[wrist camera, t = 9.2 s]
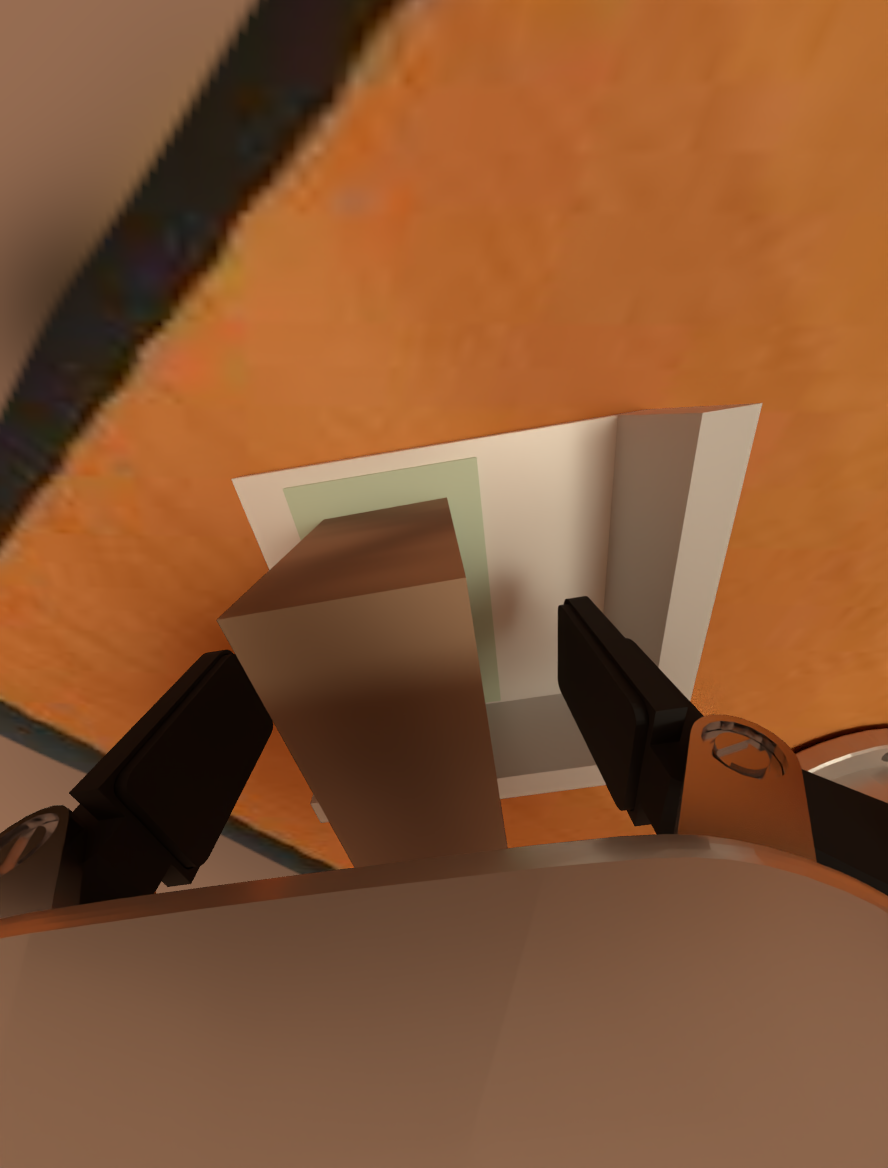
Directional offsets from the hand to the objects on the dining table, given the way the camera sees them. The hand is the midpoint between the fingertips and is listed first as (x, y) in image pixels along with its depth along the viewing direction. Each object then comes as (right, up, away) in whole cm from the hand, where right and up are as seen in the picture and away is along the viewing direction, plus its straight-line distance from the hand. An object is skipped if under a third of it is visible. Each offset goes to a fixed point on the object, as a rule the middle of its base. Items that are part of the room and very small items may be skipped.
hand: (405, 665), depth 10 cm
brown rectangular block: (0, +1, +3) cm, 3 cm away
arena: (+2, +2, +4) cm, 4 cm away
